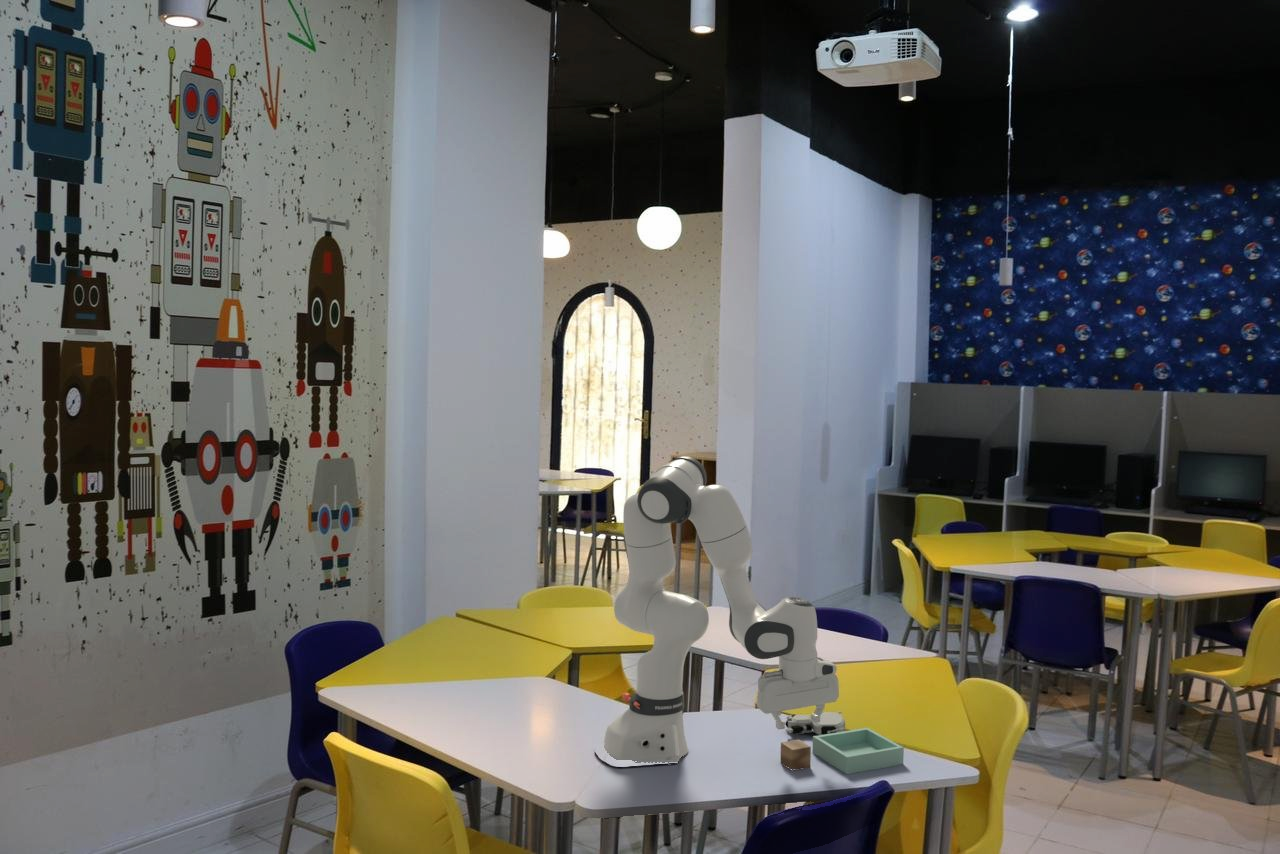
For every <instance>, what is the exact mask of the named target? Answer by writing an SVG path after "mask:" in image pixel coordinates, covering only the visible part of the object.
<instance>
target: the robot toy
mask: <svg viewBox="0 0 1280 854" xmlns="http://www.w3.org/2000/svg"><path fill="white" fill-rule="evenodd" d="M842 713H843V711H838V712H835V711H824V712H822V714H821V715H820V722H817V723H813V722H812V721H811V715H810V714H795V713H794V714H792V715H791V714H790V715H787V716H786V722H785V728H786V729H785V732H786V733H787V734H791V733H792V734H793V735H796V734H797V735H804V734H810V733H811V732H812V731H813V732H814V733H815V734H816V735H817V736H819V735H825V734H831V733H837V732H844V731H846V730H845V729H846V719H845V718H844V716H842Z"/></svg>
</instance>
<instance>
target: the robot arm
mask: <svg viewBox="0 0 1280 854" xmlns="http://www.w3.org/2000/svg"><path fill="white" fill-rule="evenodd" d="M707 478H708V477H707V472H706V469H705V467H704V466H703V464H702V463H701V462H700V460H697V459H696V458H695V457H691V456H678V457H675V458H672V459H671V460H670V461H668V462H667V463H666V464H664V465H663V466H661V467H660V468H658V469H657V470H656V471H655V472H654V473H653V475H652V476H651V477H650V478H648V479H647V480H646V481H645V482H644V483H643V484H642V486H641V487H640V489H639V492H637V493H634V494H633V495H631V496H630V497H628V498H627V500H626V501H625V503H624V505H623V513H622V514H623V517H622V519H623V534H624V535H623V536H624V540H625V547H626V554H627V562H628V580H627V582H626V586H625V587H624V588H623V589H621V590H620V591H619V593H618V594H617V596H616V598H615V601H614V606H613V608H614V609H613V611H614V616H615V619H616V620H617V622H618V623H619V624H620V625H622V626H624V627H626V628H627V629H629V630H632V631H633V632H638V633H642V634H646V635H650V636H653V638H654V639H653V645H652V649H651V650H648V651H646V652H645V653H643V654H641V656H640V657H639V658H638V661H637V663H636V690H635V691H634V694H632V695H631V694H630V693H629V692H623V694H622V696H621V698H622V701H624V702H625V703H627V704H629V707H628V708H627V709H626V710H625V711H624V712H622V714H620V715H619V716H618V717H617V718H615V719H614V720H613V721H612V722H610V723H609V724H608V725H607V727H606V730H605V733H604V734H605V735H604V741H603V743H604V748H605V750H606V751H607V753H609V755H610V756H611V757H613V758H614V759H616V760H632V761H634V762H635V761H637V762H635V763H641V762H644V763H646V762H648V763H650V762H651V763H653V762H655V763H657V762H659V763H660V762H662V763H665V762H668V763H669V762H678V761H679V759H680V757H682V756H683V757H685V756H686V755H687V754H688V753H689V747H688V745H687V740H686V739H687V738H686V736H685V726H684V713H685V692H684V691H683V681H684V665H685V661H686V657H687V655H688V653H689V650H690V649H691V648H692V646H693V644H695V643H696V642H697V641H699V640H701V638H702V637H703V636H704V635H705V633H706V631H707V630H708V627H709V622H710V615H709V611H708V608H707V605H706V604H704V602H702V601H700V600H698V599H696V598H695V597H692V596H690V595H687V594H684V593H683V594H682V593H677V592H674V591H673V592H672V591H667V590H666V589H665V587H664V579H665V578H667V577H668V576H670V575H671V574H672V572H673V571H674V569H675V567H676V563H677V561H676V555H675V554H676V553H675V546H674V543H673V542H674V541H673V540H674V539H673V536H672V528H671V523H672V524H684V523H685V522H687V520H689V521H691V523H692V524H693V526H694V527H695V530H696V533H697V536H698V538H699V541H700V544H701V546H702V549H703V551H704V553H705V555H706V557H707V559H708V561H709V562H710V564H711V566H712V567H713V569H714V570H715V571H716V573H717V574H718V576H719V578H720V581H721V584H722V587H723V590H724V593H725V596H726V598H727V602H728V607H729V616H728V617H729V618H728V627H729V631H730V634H731V636H732V637H733V639H734V640H736V641H737V642H738V643H739V644H740V645H741V646H742V648H744V649H745V650H746V651H747V653H748V654H750V656H752V657H754V658H756V659H758V660H768V659H773V658H778V670H772V671H766V672H764V673H763V674H762V675H761V676H760V677H758V680H757V681H758V682H757V687H758V688H757V690H758V691H757V696H756V707H757V708H758V709H759V711H761V712H762V713H764V714H765V715H767V714H771V715H772V717H773V719H774V720H775V728H776V729H778V730H784V729H785V728H786V722H785V720H783V719H782V718H781V717H780V716H781V715H782V712H786V711H791V710H798V709H803V708H807V707H813V706H816V707H815V710H814V712H813V713H812V712H811V713H810V717H811V721H812V722H813V723H817V722H820V715H821V714H822V712H823V711H824V710H825V705H826V704H830V703H836V702H837V700H838V699H839V697H840V696H839V695H840V687H839V686H840V685H839V679H838V676H837V670H838V669H837V665H835V664H834V663H833V662H831V661H830V660H827V659H826V658H823V657H821V656H818V651H817V647H816V646H817V640H818V619H817V612H816V608H815V606H814V605H813V604H812V603H810V602H809V601H808V600H807V599H803V598H800V597H794V596H793V597H792V596H788V597H784V598H782V599H781V600H780V601H779V603H777V604H776V605H774V606H773V607H771V608H769V609H768V610H766V609H765V607H764V606H762V604H761V603H759V602H758V600H757V598H756V597H755V595H754V591H753V589H752V585H751V582H750V579H749V576H748V574H747V573H748V572H747V568H746V566H747V563H748V562H749V560H750V559H751V557H752V554H753V545H752V540H751V535H750V532H749V529H748V525H747V523H746V521H745V517H744V515H743V513H742V511H741V509H740V506H739V505H738V502H737V501H736V499H735V498H734V496H733V495H732V493H731V491H730V490H729V489H728V488H727V487H725V486H724V485H721V484H709V485H707V482H708V481H707V480H708V479H707ZM684 755H685V756H684ZM683 757H682V758H683ZM680 760H681V759H680ZM679 762H680V761H679Z"/></svg>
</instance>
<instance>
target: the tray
mask: <svg viewBox="0 0 1280 854" xmlns="http://www.w3.org/2000/svg"><path fill="white" fill-rule="evenodd" d="M904 748H905V747H903V746H902V745H900V744H898V743H896V742H894V741H892V740H891V739H889V738H887V737H885V736H883V735H881V734H880V733H878V732H876V731H874V730H873V729H871V728H869V727H864V728H857V729H851V730H844V731H843V732H837V733H831V734H825V735H813V736H812V751H811V753H812V754H813V755H815V756H817V757H819V758H820V759H822V760H823V759H824V761H825V762H826V763H828V764H830V765H831V766H833V767H834V768H836V769H837V770H839V771H840V772H842V773H844V774H846V775H850V774H855V773H861V772H867V771H873V770H879V769H884V768H889V767H896V766H902V765H904V751H905V749H904Z"/></svg>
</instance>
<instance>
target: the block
mask: <svg viewBox="0 0 1280 854" xmlns="http://www.w3.org/2000/svg"><path fill="white" fill-rule="evenodd" d="M811 748H812V747H811V746H810V745H809V744H807V743H805V742H804V741H802V740H800V739H793V740H787V741H780V764H781V763H782V764H781V765H783V764H784V765H785V767H786V766H787V767H789V768H790V769H792V770H793V769H799V770H802V769H801V768H805V769H809V768H808V767H810V768H811V757H812V756H811V755H812V754H811V753H812V751H811V750H812V749H811ZM784 765H783V766H784ZM787 767H786V768H787ZM806 767H807V768H806ZM789 768H788V769H789ZM790 769H789V770H790ZM792 770H791V771H792ZM793 771H794V770H793Z"/></svg>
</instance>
